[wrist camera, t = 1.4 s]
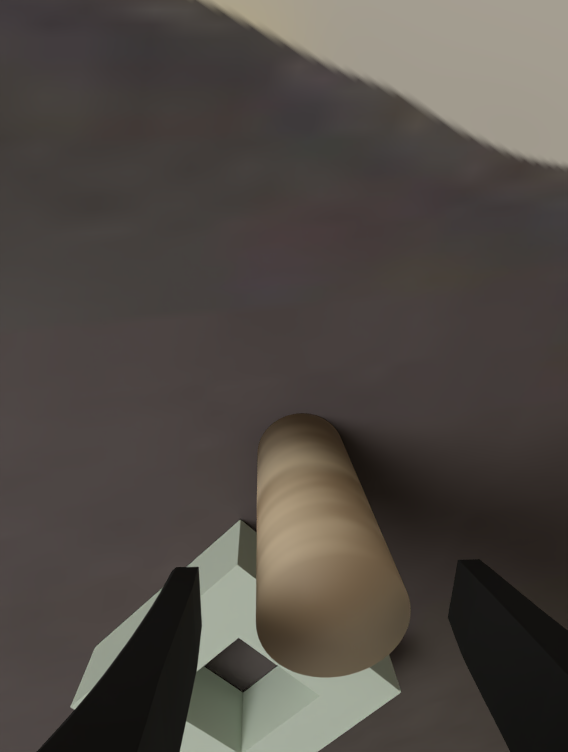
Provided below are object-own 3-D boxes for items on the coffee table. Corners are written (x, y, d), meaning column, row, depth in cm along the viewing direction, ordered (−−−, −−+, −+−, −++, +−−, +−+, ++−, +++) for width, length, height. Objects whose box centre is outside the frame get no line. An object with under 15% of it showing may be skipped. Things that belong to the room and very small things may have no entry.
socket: (383, 636, 23) (401, 692, 20) (243, 740, 25) (241, 805, 22) (240, 519, 20) (237, 564, 17) (95, 646, 22) (70, 707, 19)
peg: (360, 452, 19) (441, 616, 11) (298, 505, 20) (328, 699, 11) (302, 395, 18) (340, 526, 10) (239, 453, 19) (222, 623, 10)
